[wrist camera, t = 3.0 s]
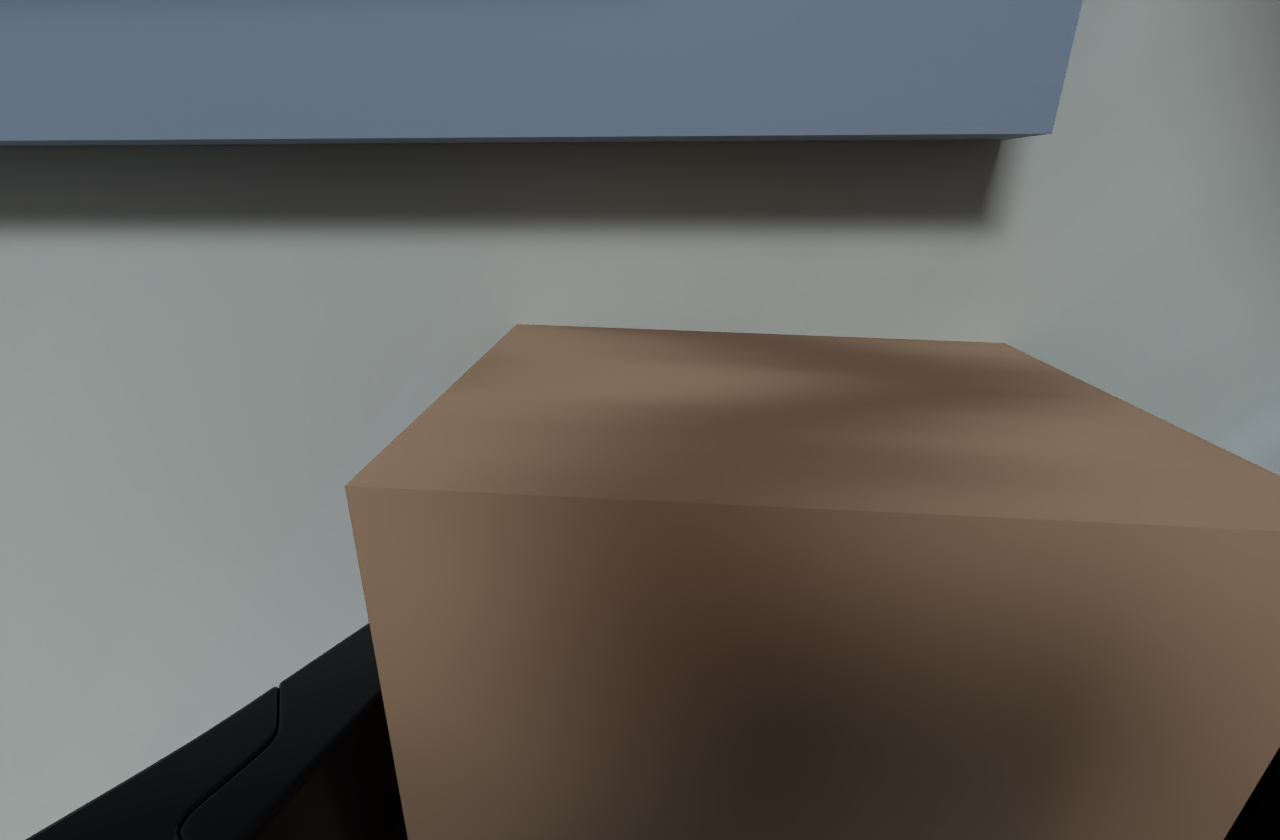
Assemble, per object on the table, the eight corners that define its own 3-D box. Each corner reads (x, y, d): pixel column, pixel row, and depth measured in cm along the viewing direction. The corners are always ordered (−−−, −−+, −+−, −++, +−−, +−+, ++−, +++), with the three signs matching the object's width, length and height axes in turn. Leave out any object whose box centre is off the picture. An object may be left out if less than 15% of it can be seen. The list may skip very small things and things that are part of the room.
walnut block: (1003, 342, 8) (1404, 537, 4) (906, 707, 11) (1075, 1084, 6) (517, 323, 9) (345, 485, 4) (535, 685, 11) (443, 1033, 7)
